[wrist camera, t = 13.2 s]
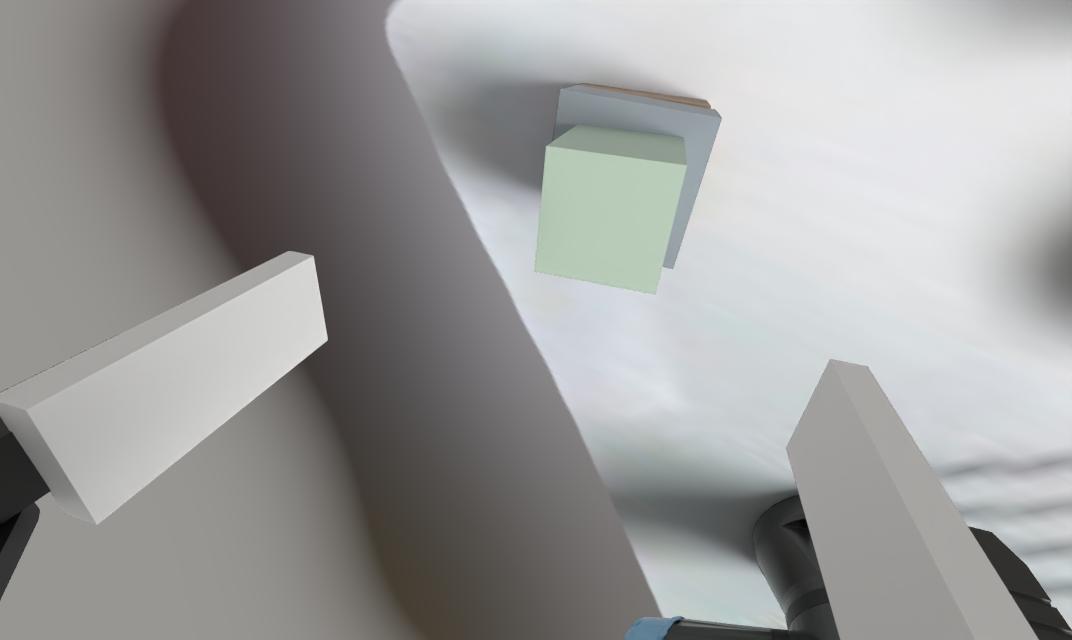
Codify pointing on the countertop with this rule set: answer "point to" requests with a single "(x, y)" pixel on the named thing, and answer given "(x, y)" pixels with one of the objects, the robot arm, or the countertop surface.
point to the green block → (609, 206)
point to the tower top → (647, 118)
